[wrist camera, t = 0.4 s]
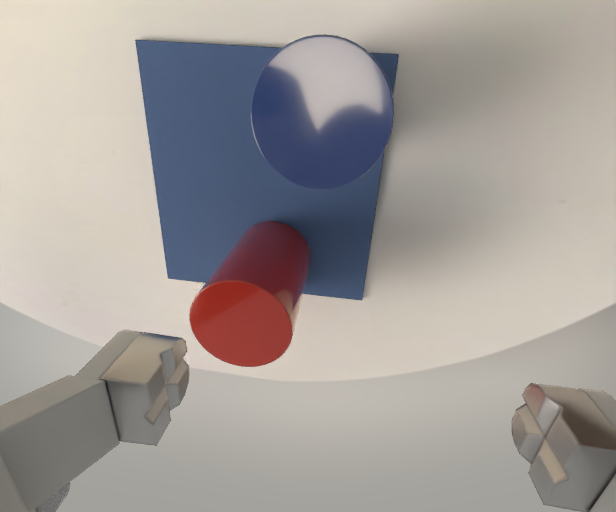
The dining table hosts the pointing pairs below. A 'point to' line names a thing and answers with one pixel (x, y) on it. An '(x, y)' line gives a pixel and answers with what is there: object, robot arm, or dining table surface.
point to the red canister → (253, 296)
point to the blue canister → (322, 112)
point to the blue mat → (241, 169)
